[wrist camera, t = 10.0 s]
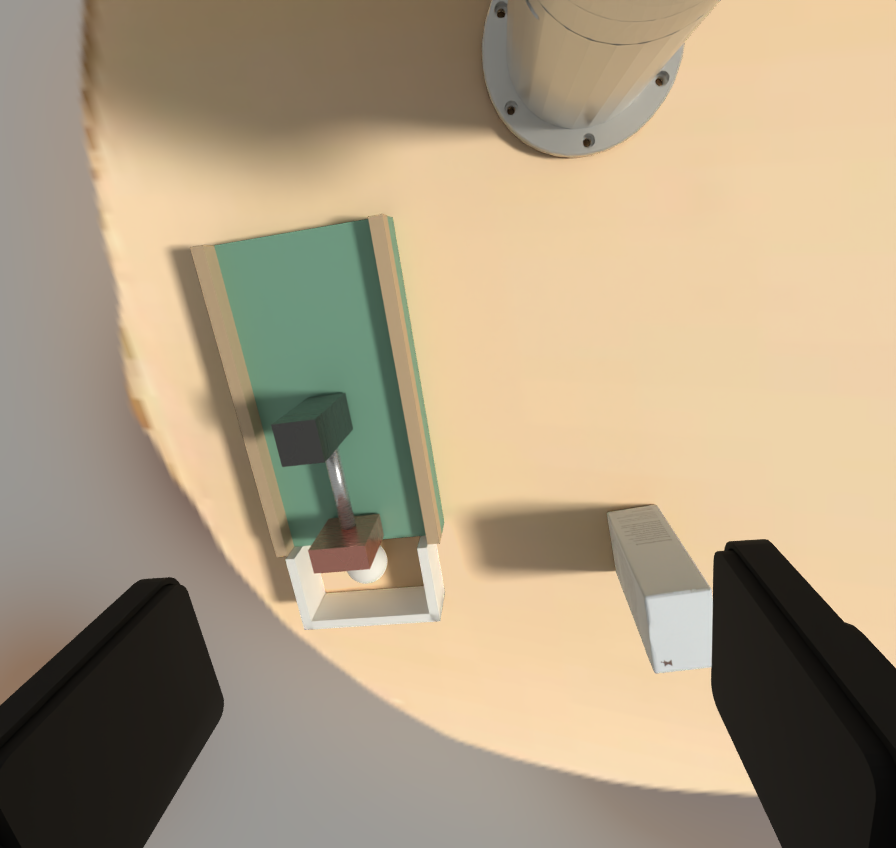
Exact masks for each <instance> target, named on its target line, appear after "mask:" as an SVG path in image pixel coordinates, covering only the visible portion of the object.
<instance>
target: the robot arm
mask: <svg viewBox="0 0 896 848" xmlns="http://www.w3.org/2000/svg"><path fill="white" fill-rule="evenodd" d="M719 2H720V0H491V3H490V6H489V10H488V13H487V16H486V20H485V24H484V32H483V40H482V63H483V72H484V79H485V83H486V87H487V90H488V93H489V97H490V100H491V102H492V104H493V106H494V108H495V110H496V112H497V114H498V116H499V117H500V119H501V120H502V121H503V122H504V124H505V125H506V126H507V128H508V129H509V130H510V131H511V132H512V133H513V134H514V135H515V136H516V137H518V138H519V139H520V140H521V141H522V142H523V143H525V144H527V145H528V146H530V147H532V148H534V149H536V150H538V151H540V152H543V153H546V154H550V155H553V156H557V157H569V158H576V157H584V156H592V155H595V154H598V153H601V152H604V151H607V150H609V149H611V148H613V147H615V146H617V145H618V144H620V143H622V142H624V141H625V140H627V139H628V138H629V137H631V136H632V135H633V134H634V133H636V132H637V131H638V130H639V129H640V128H642V127H643V126H644V125H645V123H646V122H647V121H648V120H649V119H650V118H651V117H652V116H653V115H654V114H655V112H656V111H657V110H658V108H659V107H660V105H661V104H662V103H663V101H664V100H665V99H666V97H667V95H668V93H669V91H670V89H671V87H672V86H673V84H674V81H675V79H676V76H677V73H678V70H679V67H680V64H681V60H682V57H683V51H684V44H685V41H686V40H687V39H688V38H689V36H690V35H691V34H692V33H693V32H694V31H695V29H696V28H697V27H698V26H699V25H700V24H701V22H702V21H703V20H704V19H705V18H706V17H707V16H708V14H709V13H710V12H711V11H712V10H713V9H714V7H715V6H716V5H717V4H718V3H719ZM499 12H504V13H505V16H504V17H503V18H498V16H497V15H498V13H499ZM656 79H660V80H661V81H662V85H661V86H658V85H656V83H655V81H656ZM510 107H511V108H514V110H515V112H514V114H512V115H509V114H508V113H507V110H508V109H509V108H510ZM585 139H587V140H589V141H590V146H588V147H585V146H584V145H583V140H585ZM711 686H712V693H713V697H714V701H715V704H716V706H717V709H718V711H719V713H720V715H721V718H722V720H723V722H724V724H725V726H726V728H727V730H728V733H729V735H730V737H731V739H732V741H733V743H734V745H735V748H736V750H737V752H738V754H739V756H740V758H741V760H742V763H743V765H744V767H745V769H746V771H747V773H748V775H749V778H750V780H751V782H752V784H753V786H754V788H755V790H756V793H757V795H758V797H759V799H760V801H761V803H762V805H763V808H764V810H765V812H766V814H767V816H768V818H769V820H770V822H771V825H772V827H773V829H774V831H775V833H776V835H777V837H778V840H779V842H780V844H781V846H782V848H896V668H895V667H894V666H893V665H892V664H891V663H890V662H889V661H888V660H887V659H886V658H885V656H884V655H883V654H882V653H881V652H880V651H879V650H878V649H877V648H876V647H875V646H874V645H873V644H872V643H871V642H870V640H869V639H868V638H867V637H866V636H865V635H864V634H863V633H862V632H861V631H859V630H858V629H857V628H856V627H855V626H853V625H851V624H848V623H844V621H843V620H842V619H841V618H840V617H839V616H838V615H837V614H836V613H835V612H834V611H833V609H832V608H831V607H830V606H829V605H828V604H827V603H826V602H825V601H824V600H823V598H822V597H821V596H820V595H819V594H818V593H817V592H816V591H815V590H814V589H813V588H812V586H811V585H810V584H809V583H808V582H807V581H806V580H805V579H804V578H803V577H802V576H801V574H800V573H799V572H798V571H797V570H796V569H795V568H794V567H793V566H792V565H791V564H790V562H789V561H788V560H787V559H786V558H785V557H784V556H783V555H782V554H781V553H780V552H779V550H778V549H777V548H776V547H775V546H774V545H773V544H772V543H771V542H770V541H769V540H766V539H760V540H744V541H729V542H728V543H726V546H725V550H724V551H717V552H716V553H715V555H714V566H713V618H712V669H711ZM223 707H224V699H223V695H222V692H221V689H220V686H219V683H218V680H217V677H216V674H215V671H214V668H213V665H212V662H211V659H210V656H209V654H208V650H207V647H206V644H205V641H204V638H203V635H202V632H201V629H200V626H199V623H198V620H197V617H196V614H195V612H194V609H193V606H192V603H191V600H190V597H189V594H188V591H187V590H186V588H185V587H184V586H183V585H180V584H179V582H178V581H177V580H176V579H174V578H170V577H168V578H153V579H142V580H139V581H137V582H136V583H135V584H133V585H132V586H131V587H130V588H129V589H128V590H127V591H126V592H125V593H124V594H122V595H121V596H120V597H119V598H118V599H117V600H116V601H115V602H114V603H113V604H111V605H110V606H109V607H108V608H107V609H106V610H105V611H104V612H103V613H102V614H101V615H99V616H98V617H97V618H96V619H95V620H94V621H93V622H92V623H90V624H89V625H88V626H87V627H86V628H85V629H84V630H83V631H82V632H81V633H79V634H78V635H77V636H76V637H75V638H74V639H73V640H72V641H71V642H70V643H69V644H67V645H66V646H65V647H64V648H63V649H62V650H61V651H60V652H59V653H57V654H56V655H55V656H54V657H53V658H52V659H51V660H50V661H49V662H48V663H46V665H44V666H43V667H42V668H41V669H40V670H39V671H38V672H37V673H35V675H33V676H32V677H31V678H30V679H29V680H28V681H27V682H26V683H24V684H23V685H22V686H21V687H20V688H19V689H18V690H17V691H16V692H15V693H13V694H12V695H11V696H10V697H9V698H8V699H7V700H6V701H5V702H4V703H3V704H1V705H0V848H143V847H144V845H145V844H146V842H147V840H148V839H149V837H150V835H151V834H152V832H153V830H154V829H155V827H156V825H157V824H158V822H159V820H160V818H161V817H162V815H163V814H164V812H165V810H166V809H167V807H168V805H169V804H170V802H171V800H172V799H173V797H174V795H175V794H176V792H177V790H178V789H179V787H180V785H181V784H182V782H183V780H184V779H185V777H186V775H187V774H188V772H189V770H190V769H191V767H192V765H193V764H194V762H195V760H196V759H197V757H198V755H199V754H200V752H201V750H202V749H203V747H204V745H205V744H206V742H207V740H208V739H209V737H210V735H211V734H212V732H213V730H214V729H215V727H216V725H217V724H218V722H219V720H220V718H221V716H222V712H223Z"/></svg>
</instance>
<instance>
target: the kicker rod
mask: <svg viewBox="0 0 896 848" xmlns="http://www.w3.org/2000/svg"><path fill="white" fill-rule="evenodd" d="M271 427H272V430H273V434H274V438H275V442H276V446H277V450H278V453H279V457H280V461H281V465H282V467H288V466H297V465H307V464H316V463H325V462H326V467H327V471H328V475H329V479H330V484H331V488H332V492H333V496H334V501H335V505H336V509H337V514H338V518H330V519H328V521H327V522H326V524H325V525H324V527H323V528H322V530H321V531H320V533H319V534H318V536H317V537H316V539H315V540H314V542H313V544H312V545H311V547H310V548H309V550H308V552H309V556H310V560H311V564H312V568H313V572H314V574H315V573H328V572H341V571H353V570H366V569H370V568H371V565H372V563H373V561H374V558H375V556H376V553H377V551H378V549H379V546H380V544H381V541H382V539H383V537H384V533H383V528H382V523H381V518H380V514H373V515H362V516H354V514H353V510H352V505H351V501H350V496H349V492H348V487H347V483H346V478H345V474H344V469H343V465H342V461H341V456H340V452H339V447H338V446H339V445H340V444H341V443H342V442H343V441H344V439H345V438H346V437H347V436H348V435H349V434H350V432H351V431H352V430H353V426H352V421H351V417H350V412H349V407H348V402H347V398H346V393H337V394H329V395H321V396H313V397H308V398H307V399H305V400H304V401H302V402H301V403H300V404H298V405H297V406H296V407H294V408H293V409H292V410H290V411H289V412H288V413H286V414H285V415H283V416H282V417H281V418H279V419H278V420H277V421H275V422H274V423H273V424H271Z"/></svg>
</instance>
